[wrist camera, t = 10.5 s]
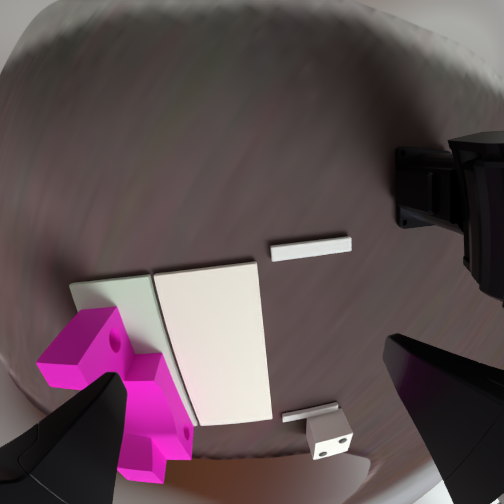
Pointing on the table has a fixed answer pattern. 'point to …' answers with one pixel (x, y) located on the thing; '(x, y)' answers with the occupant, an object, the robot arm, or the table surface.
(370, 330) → the table surface
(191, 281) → the game board
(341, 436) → the die
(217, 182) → the table surface
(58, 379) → the toy block
